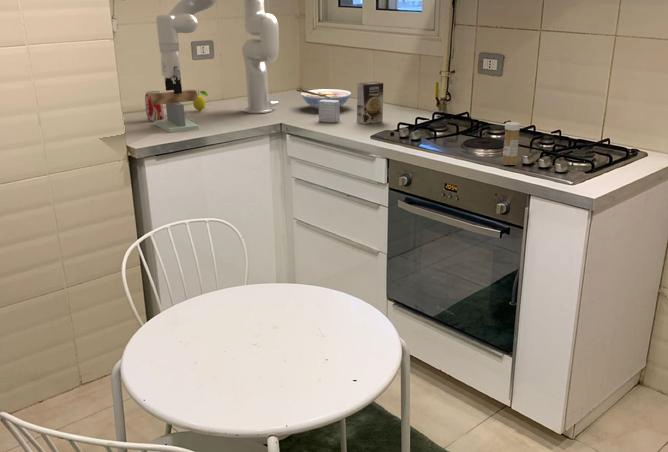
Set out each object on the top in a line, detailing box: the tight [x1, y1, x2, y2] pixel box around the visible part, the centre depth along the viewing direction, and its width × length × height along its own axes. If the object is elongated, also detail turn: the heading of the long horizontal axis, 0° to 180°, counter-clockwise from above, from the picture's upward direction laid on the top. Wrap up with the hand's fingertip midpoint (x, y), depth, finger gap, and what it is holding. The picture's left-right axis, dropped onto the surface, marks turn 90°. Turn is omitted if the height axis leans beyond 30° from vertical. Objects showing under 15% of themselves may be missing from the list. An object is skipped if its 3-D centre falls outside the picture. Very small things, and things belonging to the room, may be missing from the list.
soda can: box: [144, 90, 165, 122], centre depth 276 cm, size 7×7×12 cm
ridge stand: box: [154, 102, 200, 134], centre depth 264 cm, size 12×19×10 cm, turn 32°
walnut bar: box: [151, 89, 198, 105], centre depth 261 cm, size 18×3×4 cm, turn 122°
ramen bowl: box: [296, 88, 351, 110], centre depth 297 cm, size 25×23×8 cm
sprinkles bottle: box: [501, 121, 521, 165], centre depth 204 cm, size 5×5×13 cm
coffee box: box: [356, 81, 384, 125], centre depth 267 cm, size 9×6×16 cm
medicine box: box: [318, 100, 341, 123], centre depth 271 cm, size 8×4×9 cm, turn 71°
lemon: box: [192, 90, 209, 112], centre depth 294 cm, size 7×6×10 cm
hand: (174, 91), depth 261 cm, fingers open, 9 cm apart
